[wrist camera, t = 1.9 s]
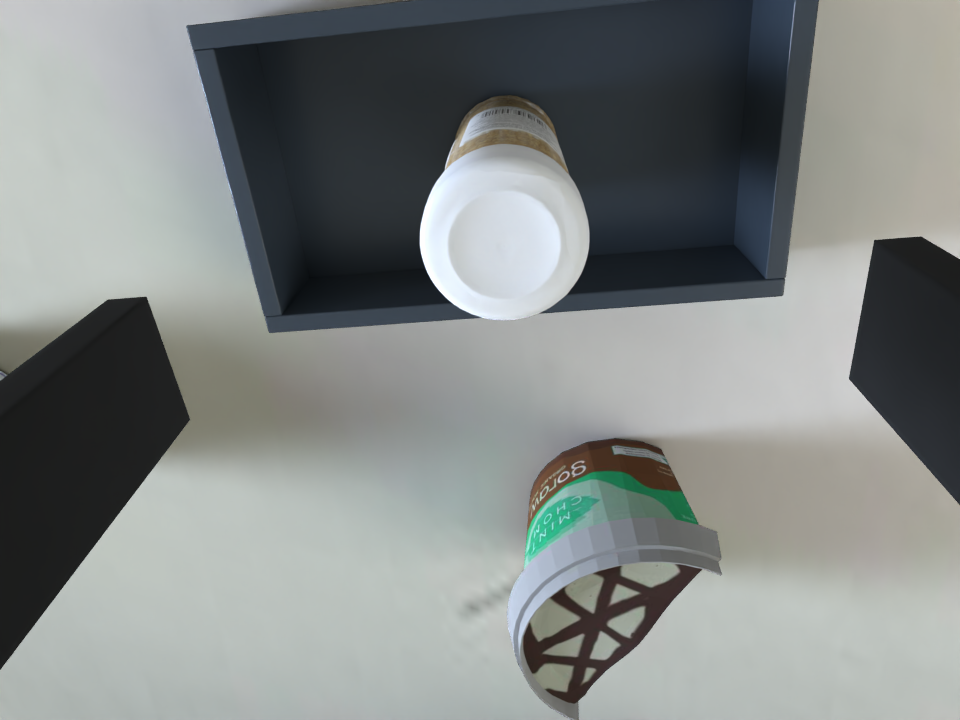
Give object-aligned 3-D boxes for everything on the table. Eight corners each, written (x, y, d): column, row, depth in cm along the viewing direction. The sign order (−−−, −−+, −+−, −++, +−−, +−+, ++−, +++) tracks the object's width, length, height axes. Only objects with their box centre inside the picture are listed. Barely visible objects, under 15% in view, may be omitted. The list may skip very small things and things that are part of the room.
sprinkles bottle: (438, 171, 30) (389, 281, 18) (484, 72, 28) (462, 123, 16) (529, 217, 31) (538, 352, 19) (579, 124, 29) (625, 209, 17)
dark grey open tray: (746, 256, 32) (784, 296, 27) (299, 291, 34) (268, 334, 29) (773, -39, 26) (825, -46, 22) (236, 21, 28) (185, 25, 24)
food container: (579, 381, 35) (601, 507, 26) (677, 429, 36) (730, 566, 28) (471, 536, 41) (459, 685, 32) (559, 575, 42) (572, 729, 33)
